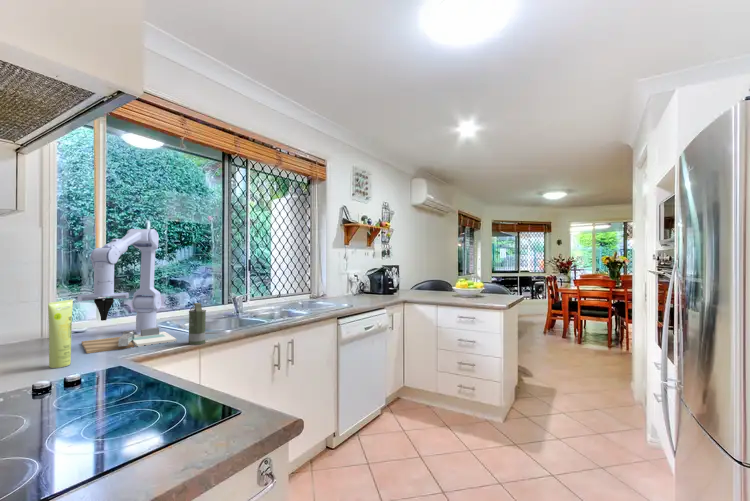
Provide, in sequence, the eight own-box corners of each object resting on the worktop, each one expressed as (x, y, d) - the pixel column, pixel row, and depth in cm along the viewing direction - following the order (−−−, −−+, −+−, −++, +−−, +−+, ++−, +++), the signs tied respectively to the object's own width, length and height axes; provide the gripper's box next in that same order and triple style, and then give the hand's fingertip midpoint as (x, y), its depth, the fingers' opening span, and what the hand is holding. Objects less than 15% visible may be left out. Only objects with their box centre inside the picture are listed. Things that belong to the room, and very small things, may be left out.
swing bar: (123, 338, 143) (123, 331, 143) (134, 337, 144) (135, 330, 144) (117, 346, 130) (117, 338, 130) (129, 345, 132) (129, 337, 132)
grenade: (186, 342, 142) (187, 303, 142) (203, 340, 146) (204, 301, 146) (190, 345, 137) (190, 304, 137) (207, 343, 141) (208, 303, 141)
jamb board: (81, 343, 139) (81, 340, 139) (127, 338, 148) (127, 335, 148) (86, 353, 125) (86, 350, 125) (136, 346, 135) (136, 343, 135)
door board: (127, 338, 148) (127, 329, 148) (164, 333, 157) (164, 325, 157) (137, 346, 135) (137, 337, 135) (176, 341, 144) (176, 332, 144)
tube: (69, 367, 110) (70, 301, 111) (46, 370, 108) (48, 302, 108) (71, 362, 115) (72, 299, 115) (50, 365, 112) (51, 300, 113)
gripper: (79, 283, 124) (78, 324, 124) (130, 281, 134) (129, 319, 134) (77, 281, 130) (76, 321, 129) (126, 280, 139) (126, 316, 139)
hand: (103, 320), depth 132 cm, fingers closed
